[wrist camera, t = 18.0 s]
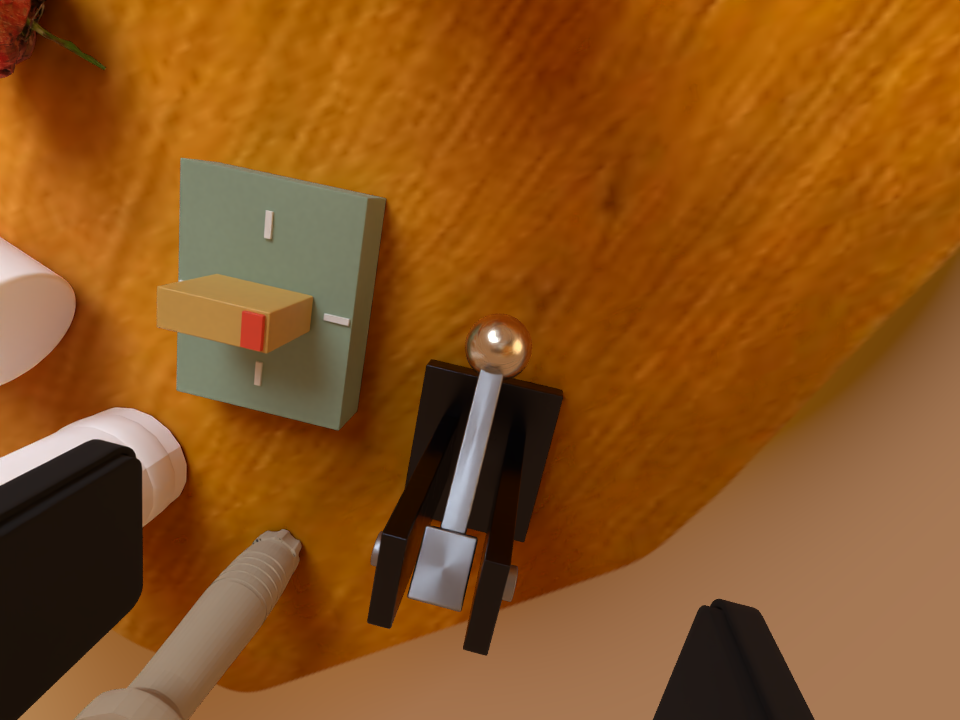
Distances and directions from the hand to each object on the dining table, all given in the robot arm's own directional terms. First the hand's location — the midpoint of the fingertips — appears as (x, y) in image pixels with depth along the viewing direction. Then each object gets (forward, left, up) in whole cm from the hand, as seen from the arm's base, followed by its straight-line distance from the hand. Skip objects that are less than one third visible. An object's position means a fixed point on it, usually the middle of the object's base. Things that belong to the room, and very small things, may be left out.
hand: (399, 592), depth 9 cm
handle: (+20, -12, -22) cm, 32 cm away
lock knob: (+2, -13, -19) cm, 23 cm away
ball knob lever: (+5, 0, -16) cm, 16 cm away
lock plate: (+2, -13, -22) cm, 26 cm away
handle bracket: (+9, 0, -22) cm, 24 cm away
